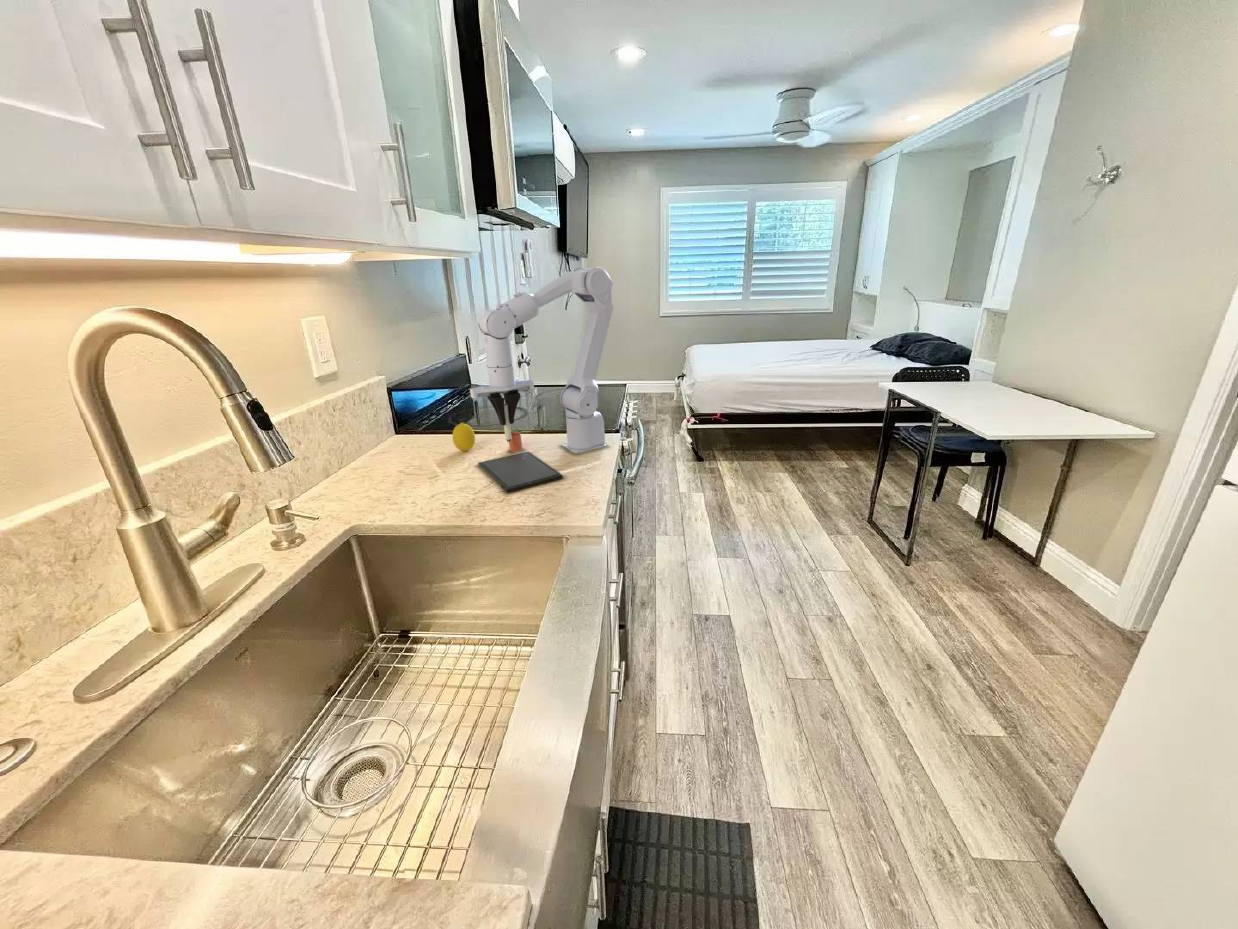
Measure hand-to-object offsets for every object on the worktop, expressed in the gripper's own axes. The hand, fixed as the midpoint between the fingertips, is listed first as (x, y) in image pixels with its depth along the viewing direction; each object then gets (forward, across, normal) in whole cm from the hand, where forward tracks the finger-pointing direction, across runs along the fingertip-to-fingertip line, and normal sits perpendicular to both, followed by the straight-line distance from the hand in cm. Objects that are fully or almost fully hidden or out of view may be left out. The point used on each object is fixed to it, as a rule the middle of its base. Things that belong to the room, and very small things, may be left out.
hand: (506, 423), depth 115 cm
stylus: (+4, 0, 0) cm, 4 cm away
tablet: (+10, 0, +6) cm, 12 cm away
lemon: (+10, +7, -15) cm, 19 cm away
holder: (+10, -4, -8) cm, 14 cm away
